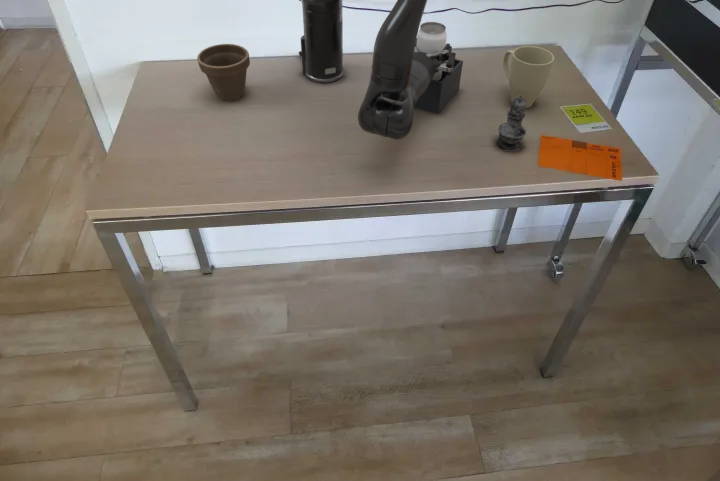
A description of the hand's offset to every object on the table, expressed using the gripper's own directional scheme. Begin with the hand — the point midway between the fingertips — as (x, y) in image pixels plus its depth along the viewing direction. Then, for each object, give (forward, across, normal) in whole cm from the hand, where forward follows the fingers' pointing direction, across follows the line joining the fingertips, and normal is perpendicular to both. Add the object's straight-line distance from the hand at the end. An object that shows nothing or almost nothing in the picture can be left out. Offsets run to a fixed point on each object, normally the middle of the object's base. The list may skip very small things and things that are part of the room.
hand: (433, 44), depth 128 cm
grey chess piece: (-15, -22, +12) cm, 29 cm away
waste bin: (-2, 0, +12) cm, 12 cm away
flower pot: (-20, +43, +12) cm, 49 cm away
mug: (+4, -21, +12) cm, 25 cm away
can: (-2, 0, +7) cm, 8 cm away
